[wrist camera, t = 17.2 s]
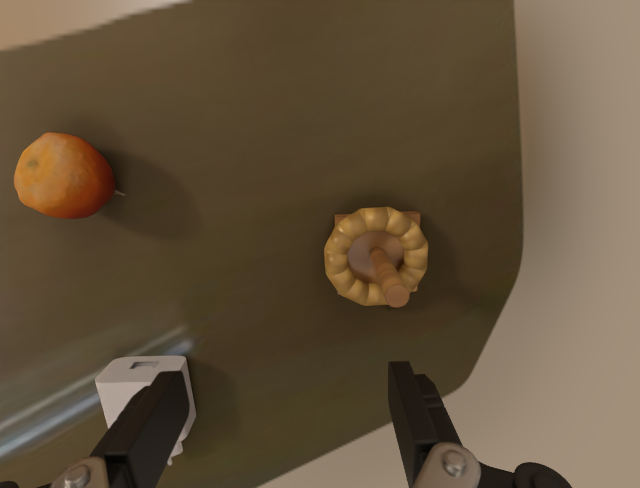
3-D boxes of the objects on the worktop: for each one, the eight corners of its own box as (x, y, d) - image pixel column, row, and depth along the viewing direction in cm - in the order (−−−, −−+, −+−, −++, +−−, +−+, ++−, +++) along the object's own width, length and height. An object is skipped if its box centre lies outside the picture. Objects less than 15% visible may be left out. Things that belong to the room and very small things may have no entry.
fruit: (87, 242, 36) (1, 224, 28) (73, 181, 38) (-11, 149, 30) (148, 207, 35) (75, 179, 27) (129, 146, 37) (57, 105, 29)
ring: (321, 208, 35) (321, 213, 33) (425, 202, 35) (432, 206, 32) (327, 301, 38) (327, 311, 36) (422, 296, 38) (428, 306, 36)
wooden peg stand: (334, 214, 36) (340, 245, 26) (417, 211, 36) (457, 240, 25) (337, 290, 39) (343, 346, 28) (414, 286, 39) (449, 342, 28)
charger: (138, 448, 46) (115, 356, 42) (204, 447, 46) (188, 354, 42) (119, 482, 42) (90, 382, 37) (192, 480, 42) (172, 380, 37)
